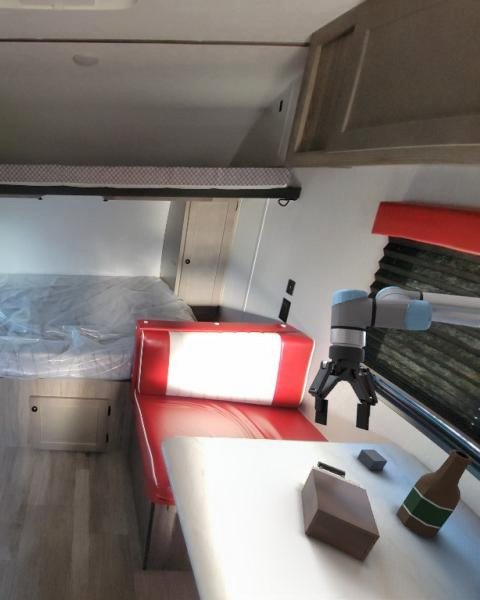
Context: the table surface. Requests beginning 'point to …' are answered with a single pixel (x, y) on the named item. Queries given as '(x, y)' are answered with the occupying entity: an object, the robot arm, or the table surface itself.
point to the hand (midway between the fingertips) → (341, 426)
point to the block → (372, 459)
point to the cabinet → (338, 515)
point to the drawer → (332, 470)
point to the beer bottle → (434, 497)
